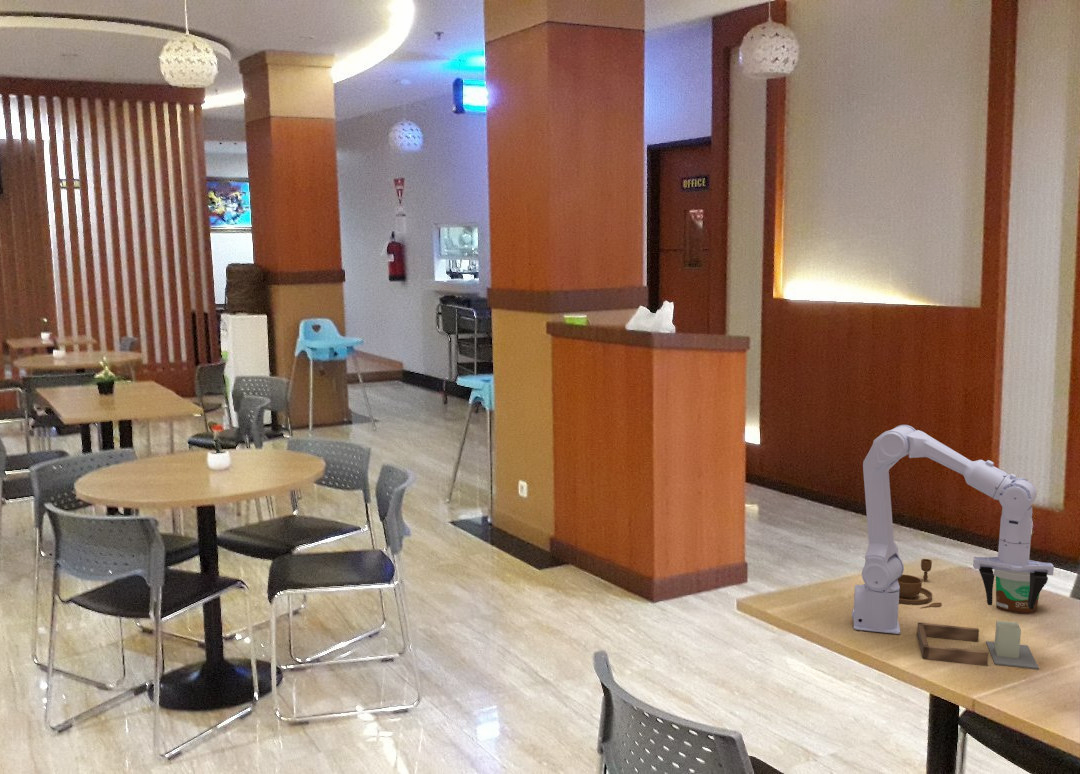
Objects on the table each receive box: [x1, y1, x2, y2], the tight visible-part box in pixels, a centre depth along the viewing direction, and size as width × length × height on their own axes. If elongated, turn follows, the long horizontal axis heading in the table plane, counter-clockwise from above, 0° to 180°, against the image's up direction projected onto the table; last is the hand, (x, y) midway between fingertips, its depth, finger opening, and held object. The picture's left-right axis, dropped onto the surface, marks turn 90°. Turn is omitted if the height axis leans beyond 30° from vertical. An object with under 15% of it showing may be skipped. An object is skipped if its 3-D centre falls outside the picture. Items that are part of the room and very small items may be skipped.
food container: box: [993, 569, 1041, 615], centre depth 233 cm, size 12×6×10 cm, turn 105°
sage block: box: [994, 620, 1022, 658], centre depth 208 cm, size 4×4×6 cm
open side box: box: [916, 622, 989, 666], centre depth 211 cm, size 12×14×2 cm
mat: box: [985, 640, 1040, 670], centre depth 208 cm, size 8×12×1 cm, turn 165°
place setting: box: [898, 558, 943, 609], centre depth 244 cm, size 18×20×6 cm
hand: (1009, 605), depth 207 cm, fingers open, 7 cm apart
